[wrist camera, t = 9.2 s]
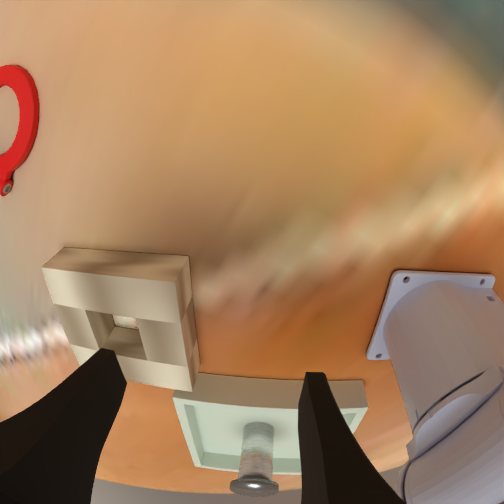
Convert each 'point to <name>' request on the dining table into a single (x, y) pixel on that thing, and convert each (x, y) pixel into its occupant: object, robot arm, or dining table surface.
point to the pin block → (128, 311)
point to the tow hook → (29, 118)
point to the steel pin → (256, 462)
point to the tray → (253, 417)
